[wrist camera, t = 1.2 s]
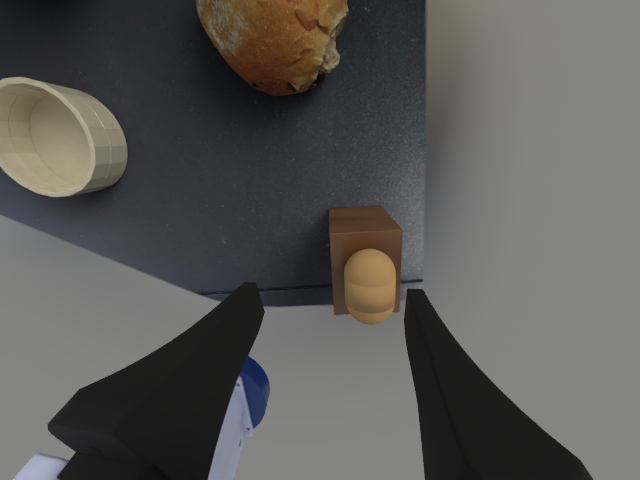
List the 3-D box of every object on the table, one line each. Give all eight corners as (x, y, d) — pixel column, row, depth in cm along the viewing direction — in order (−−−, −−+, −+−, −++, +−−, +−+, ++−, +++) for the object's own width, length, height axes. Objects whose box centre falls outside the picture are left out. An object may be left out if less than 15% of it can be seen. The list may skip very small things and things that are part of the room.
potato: (388, 304, 19) (400, 334, 16) (344, 306, 19) (347, 336, 16) (389, 240, 17) (403, 260, 14) (341, 242, 17) (344, 262, 14)
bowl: (140, 187, 24) (110, 193, 21) (54, 192, 25) (11, 200, 21) (109, 83, 21) (69, 72, 18) (12, 92, 22) (-44, 82, 18)
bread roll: (326, -32, 21) (301, -201, 13) (372, 76, 20) (373, -42, 12) (221, 26, 23) (142, -95, 15) (256, 130, 21) (191, 56, 14)
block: (380, 267, 26) (399, 312, 19) (332, 270, 26) (334, 315, 19) (380, 204, 24) (402, 229, 17) (328, 208, 24) (329, 233, 17)
